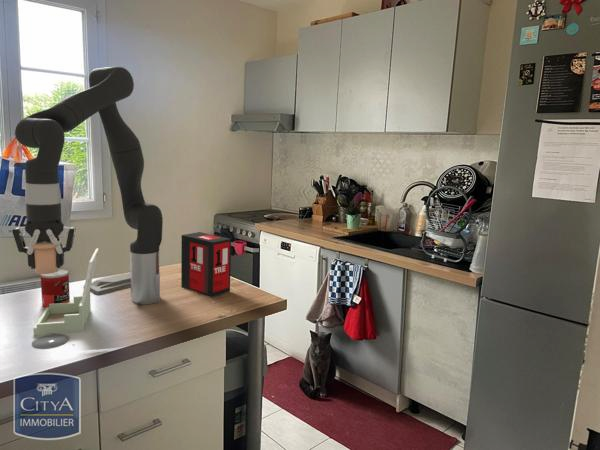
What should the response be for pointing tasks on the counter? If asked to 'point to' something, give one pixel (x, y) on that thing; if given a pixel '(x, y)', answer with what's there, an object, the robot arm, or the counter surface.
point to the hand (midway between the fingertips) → (46, 267)
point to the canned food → (55, 288)
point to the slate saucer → (50, 341)
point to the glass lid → (89, 275)
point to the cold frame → (64, 317)
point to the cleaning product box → (206, 263)
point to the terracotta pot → (45, 258)
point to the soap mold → (111, 284)
